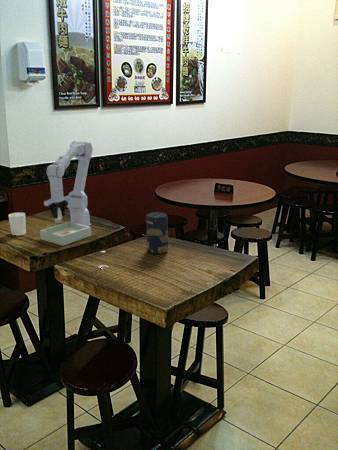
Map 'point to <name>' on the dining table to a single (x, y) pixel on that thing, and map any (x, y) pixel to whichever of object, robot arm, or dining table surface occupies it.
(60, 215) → the peg
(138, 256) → the dining table surface
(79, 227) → the caddy
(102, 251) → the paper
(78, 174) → the robot arm
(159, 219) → the canister
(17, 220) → the white cup
